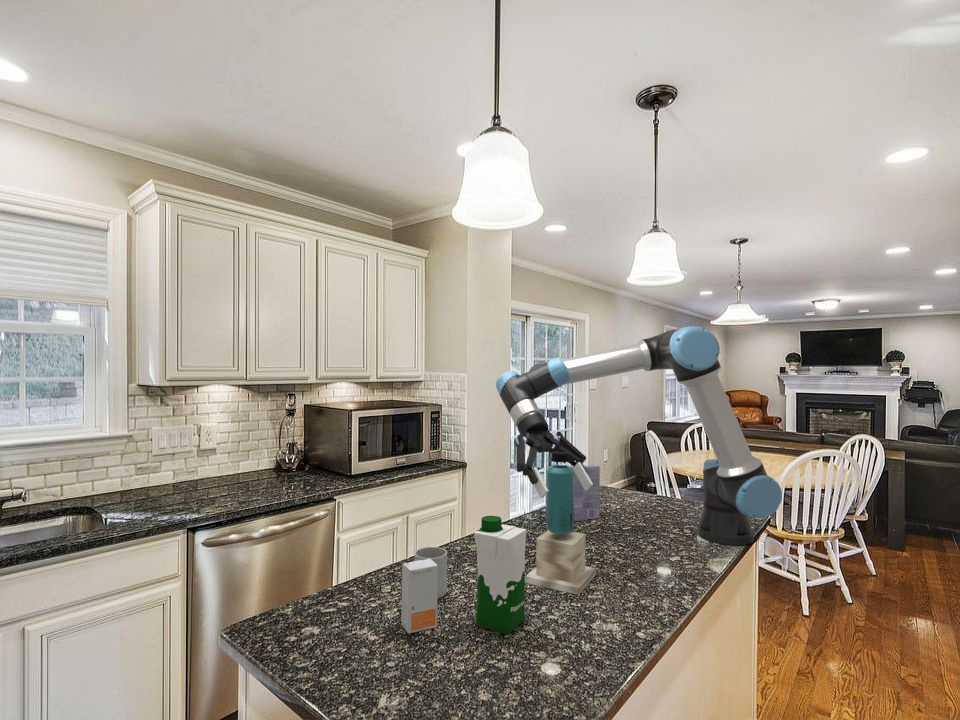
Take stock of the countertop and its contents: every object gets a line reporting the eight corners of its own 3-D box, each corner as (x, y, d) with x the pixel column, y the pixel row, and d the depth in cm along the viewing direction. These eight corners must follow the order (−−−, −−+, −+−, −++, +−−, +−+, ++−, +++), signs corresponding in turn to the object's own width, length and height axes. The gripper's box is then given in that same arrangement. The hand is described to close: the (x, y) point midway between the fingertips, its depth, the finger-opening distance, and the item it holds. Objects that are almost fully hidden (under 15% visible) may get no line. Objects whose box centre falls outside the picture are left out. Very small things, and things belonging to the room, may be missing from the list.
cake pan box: (595, 515, 176) (595, 463, 176) (603, 519, 171) (603, 465, 171) (544, 520, 169) (544, 466, 170) (551, 524, 165) (551, 469, 165)
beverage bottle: (574, 541, 118) (574, 454, 118) (545, 539, 119) (545, 453, 120) (574, 533, 124) (574, 450, 125) (546, 531, 126) (547, 449, 126)
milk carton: (492, 608, 107) (492, 511, 107) (531, 619, 102) (531, 518, 102) (469, 625, 99) (469, 522, 100) (510, 639, 94) (510, 529, 95)
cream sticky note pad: (596, 574, 124) (595, 532, 125) (579, 594, 113) (579, 549, 113) (545, 564, 131) (545, 524, 131) (525, 582, 119) (525, 539, 119)
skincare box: (408, 635, 96) (408, 570, 96) (400, 625, 99) (401, 562, 100) (438, 627, 98) (438, 564, 99) (430, 618, 102) (430, 557, 103)
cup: (453, 593, 114) (453, 552, 114) (417, 607, 107) (417, 564, 107) (433, 583, 119) (433, 544, 119) (397, 596, 112) (397, 555, 112)
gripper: (560, 427, 142) (598, 493, 129) (483, 433, 129) (517, 506, 116) (572, 409, 138) (614, 476, 124) (494, 413, 125) (531, 488, 112)
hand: (567, 491), depth 120 cm, fingers open, 13 cm apart
